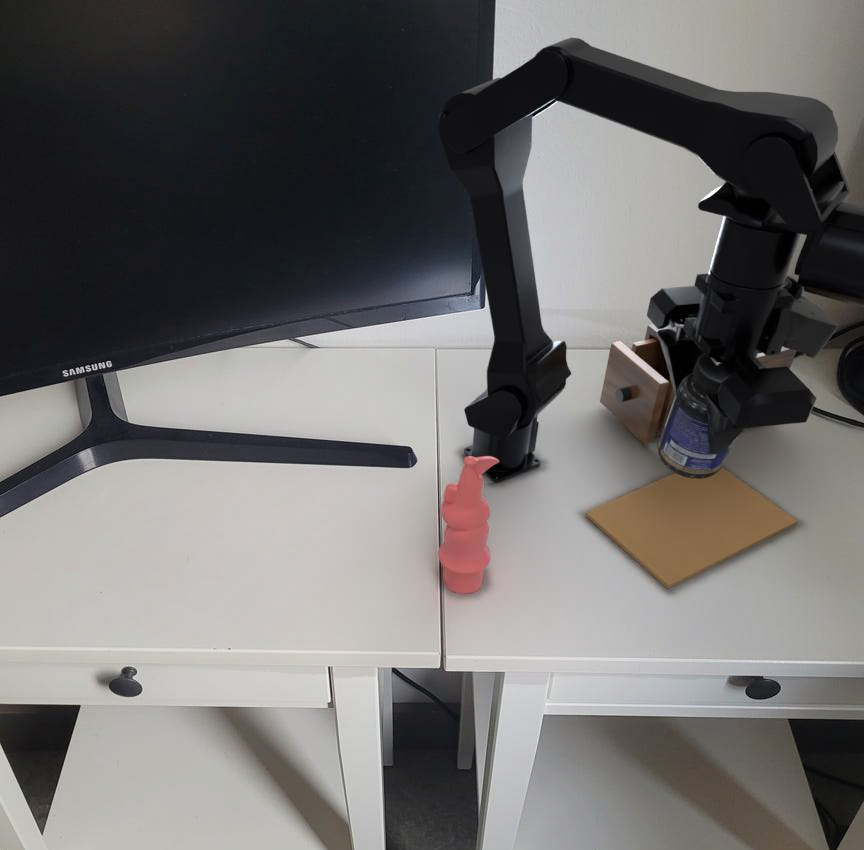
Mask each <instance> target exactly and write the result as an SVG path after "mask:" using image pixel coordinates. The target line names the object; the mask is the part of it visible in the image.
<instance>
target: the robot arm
mask: <svg viewBox="0 0 864 850" xmlns="http://www.w3.org/2000/svg"><path fill="white" fill-rule="evenodd" d="M558 102H559V103H562V104H565V105H567V106H570V107H573V108H576V109H578V110H581V111H583V112H586V113H589V114H592V115H593V116H597V117H598V118H599V117H600V118H602V119H603V120H607V121H610V122H613V123H616V124H618V125H621V126H623V127H626V128H629V129H631V130H635V131H636V132H640V133H642V134H645V135H648V136H650V137H653V138H655V139H658V140H661V141H663V142H666V143H668V144H671V145H674V146H677V147H679V148H682V149H683V150H686V151H688V152H689V153H691V154H693V155H694V156H696V157H697V158H698V159H699V160H700V161H701V162H702V163H703V164H704V165H705V166H706V167H707V168H708V170H709V171H711V173H713V174H714V175H715V176H716V177H718V178H720V179H721V180H723V181H724V183H723V184H722V185H721V186H719V187H716V188H714V189H713V190H712V191H711V192H709V193H708V194H707V195H705V197H703V198H702V199H701V200H700V201H699V202H698V203H697V208H698V210H699V211H702V212H705V213H709V214H713V215H719V216H722V221H721V225H720V229H719V233H718V236H717V240H716V243H715V248H714V251H713V255H712V258H711V262H710V266H709V270H708V273H707V272H706V273H696V277H695V281H694V285H688V286H687V285H685V286H674V287H673V286H672V287H662V288H660V289H659V290H658V291H656V293H654V294H653V295H652V296H650V299H649V303H648V308H647V312H646V313H647V314H646V317H647V318H648V319H649V320H650V322H651V324H654V325H655V327H656V328H657V329H660V330H658V331H657V337H658V338H659V340H660V343H661V346H662V350H663V353H664V357H665V360H666V363H667V367H668V371H669V374H670V378H671V382H672V386H673V390H674V394H675V395H676V392H677V390H678V386H679V384H680V383H681V381H682V380H683V379H684V378H685V377H686V376H688V375H690V374H692V373H693V369H694V367H695V364H696V362H697V359H698V358H699V356H701V355H702V354H705V355H706V356H707V357H708V358H710V359H711V360H712V361H713V363H714V364H715V365H717V366H724V367H725V368H726V369H727V370H728V371H729V372H730V374H731V375H729V376H728V377H727V378H726V379H724V380H723V381H722V382H721V384H720V388H719V391H718V393H712V394H707V395H706V400H707V419H708V439H709V448H710V452H711V453H712V454H718V453H723V452H724V451H725V450H726V449H727V448H728V447H729V445H730V444H731V443H732V442H733V443H734V442H735V440H736V439H737V438H738V437H739V436H740V435H741V434H742V432H743V431H744V430H745V429H753V428H762V427H763V428H764V427H773V426H774V427H775V426H782V425H793V424H800V423H801V424H803V423H807V422H808V420H809V418H810V416H811V414H812V411H813V409H814V406H815V404H816V401H817V399H818V398H817V397H816V396H815V394H814V393H813V392H812V391H811V390H810V388H809V387H808V386H807V385H806V384H805V383H804V382H803V381H802V380H801V379H800V378H799V377H798V376H797V375H796V374H795V373H794V372H793V371H792V370H791V368H790V369H789V368H788V367H787V366H785V367H774V368H765V367H764V366H763V365H762V364H761V363H760V362H759V361H758V360H757V359H756V358H755V357H757V354H758V353H764V354H765V355H766V356H770V355H780V352H781V349H782V347H785V348H788V349H792V350H795V351H796V352H799V353H802V354H805V355H806V357H808V358H812V359H814V358H817V356H818V355H819V354H820V352H822V350H823V349H824V347H825V346H826V344H827V343H828V342H829V340H831V338H832V337H833V335H834V334H835V332H836V331H837V330H838V328H839V327H840V324H839V323H838V322H837V321H836V320H834V318H832V317H831V316H830V315H829V314H827V312H826V311H824V310H823V309H822V308H821V307H820V306H819V305H817V304H815V303H814V302H812V301H810V300H809V299H808V298H807V297H805V295H802V294H803V292H805V293H809V294H812V295H816V296H820V297H823V298H827V299H831V300H834V301H838V302H842V303H846V304H850V305H854V306H857V307H862V308H864V206H863V205H858V204H853V203H849V202H845V201H846V200H847V199H848V197H849V196H850V195H851V190H850V187H849V184H848V182H847V179H846V177H845V174H844V172H843V168H842V166H841V163H840V161H839V158H838V155H837V152H836V147H837V144H838V141H839V126H838V124H837V121H836V118H835V116H834V111H833V110H832V109H831V108H830V107H829V105H827V104H826V103H824V102H822V101H821V100H819V99H817V98H813V97H809V96H802V95H795V94H787V93H785V94H784V93H781V92H780V93H779V92H771V91H733V90H732V91H731V90H727V89H725V90H724V89H719V88H715V87H713V86H710V85H707V84H704V83H701V82H698V81H695V80H692V79H689V78H687V77H683V76H680V75H677V74H675V73H671V72H668V71H665V70H663V69H660V68H657V67H654V66H652V65H648V64H645V63H643V62H639V61H636V60H633V59H631V58H627V57H625V56H622V55H619V54H616V53H612V52H609V51H606V50H605V49H601V48H598V47H595V46H592V45H590V44H589V43H588V42H587V41H585V40H583V39H581V38H578V37H569V38H566V39H563V40H560V41H557V42H555V43H553V44H549V45H548V46H545V47H543V48H541V49H540V50H539V51H538V52H536V53H535V55H534V56H533V57H532V58H530V59H529V60H527V61H526V62H525V63H523V64H522V65H520V66H518V67H517V68H515V69H514V70H511V72H509V73H508V74H506V75H504V76H502V77H496V78H493V79H491V80H489V81H486V82H483V83H481V84H478V85H476V86H474V87H472V88H469V89H467V90H465V91H462V92H460V93H457V94H455V95H453V96H451V98H450V99H448V101H446V103H445V105H444V106H443V109H442V111H441V112H440V113H439V115H438V120H437V125H438V126H437V128H438V135H439V139H440V142H441V145H442V148H443V152H444V154H445V158H446V161H447V163H448V166H449V169H450V171H451V173H452V174H453V176H454V177H455V178H456V180H457V181H458V182H459V184H460V185H461V186H462V187H463V189H464V190H465V191H466V193H467V194H468V197H469V199H470V203H471V209H472V214H473V215H472V216H473V221H474V227H475V232H476V233H475V234H476V238H477V244H478V250H479V256H480V262H481V269H482V274H483V280H484V285H485V290H486V297H487V303H488V308H489V315H490V321H491V326H492V332H493V344H492V348H491V352H490V356H489V360H488V362H487V363H488V364H487V368H486V389H485V390H484V391H483V392H482V393H481V394H480V395H479V396H477V397H476V398H475V399H474V400H473V401H471V402H470V403H469V404H467V406H466V407H465V408H464V410H463V411H464V415H465V418H466V423H467V425H468V427H470V428H473V434H472V435H473V437H472V445H469V446H466V447H464V449H463V454H464V455H465V457H467V456H473V457H475V458H477V457H482V456H491V457H494V458H496V459H498V460H499V463H497V464H495V465H493V466H492V467H490V468H489V469H488V470H486V471H485V472H484V473H483V474H485V475H486V477H487V478H489V479H490V480H491V481H492V482H493V483H500V482H503V481H505V480H507V479H509V478H513V477H515V476H518V475H520V474H522V473H525V472H527V471H530V470H533V469H535V468H539V467H540V466H541V463H542V460H541V459H540V458H539V457H538V456H537V455H536V454H535V453H534V452H535V450H536V445H537V440H538V439H537V437H538V433H539V425H540V423H539V421H538V416H539V415H540V414H541V413H542V412H543V411H544V410H545V409H546V408H547V407H548V406H549V405H550V404H551V403H552V402H553V401H554V400H555V399H556V398H557V397H558V396H559V395H560V394H562V392H563V390H564V389H565V388H566V385H567V379H569V378H570V376H571V375H572V372H571V370H570V367H569V364H568V361H567V348H568V346H567V343H566V341H565V340H555V341H554V340H553V339H552V338H551V337H550V335H549V334H548V333H547V332H546V330H545V329H544V327H543V323H542V322H543V321H542V316H541V308H540V300H539V293H538V286H537V279H536V272H535V265H534V258H533V257H534V256H533V251H532V243H531V237H530V230H529V221H528V215H527V207H526V199H525V192H524V178H525V175H526V172H527V167H528V163H529V158H530V155H531V152H532V151H531V150H532V146H533V145H532V144H533V118H535V117H536V116H538V115H540V114H541V113H543V112H544V111H546V110H547V109H549V108H551V107H552V106H553V105H556V103H558ZM801 235H804V236H805V239H804V242H803V244H802V247H801V250H800V252H799V254H798V256H797V259H796V262H795V263H796V264H795V267H794V275H795V276H798V278H797V279H796V278H794V276H790V275H789V270H790V268H791V265H792V263H793V262H792V261H793V259H794V256H795V254H796V253H795V252H796V250H797V247H798V244H799V241H800V238H801ZM665 327H666V329H664V328H665ZM733 443H732V444H733Z"/></svg>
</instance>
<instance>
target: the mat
mask: <svg viewBox="0 0 864 850" xmlns="http://www.w3.org/2000/svg"><path fill="white" fill-rule="evenodd" d="M584 516H585V517H586V518H587V519H589V520H590V522H591V523H592V524H594V525H595V526H596V527H597V528H599V529H600V530H601V531H602V532H603V533H604V534H605V535H606V536H608V538H610V540H612V541H613V542H614V543H616V544H617V545H618V546H619V547H620V548H621V549H622V550H623V551H624V552H626V553H627V554H628V555H629V556H630V557H631V558H632V559H634V561H636V563H638V564H639V565H640V566H641V567H642V568H643V569H644V570H646V571H647V572H648V573H649V574H650V575H651V576H652V577H654V579H656V580H657V581H658V582H659V583H660V584H662V586H664V587H665V588H666V589H668V590H669V589H671V588H673V587H675V586H677V585H679V584H681V583H683V582H685V581H687V580H689V579H691V578H693V577H695V576H697V575H699V574H701V573H702V572H704V571H706V570H708V569H710V568H713V567H714V566H717V565H718V564H720V563H723V562H724V561H726V560H729V559H730V558H733V557H734V556H737V555H738V554H740V553H742V552H744V551H747V550H748V549H751V548H753V547H754V546H756V545H758V544H760V543H762V542H764V541H766V540H768V539H770V538H772V537H774V536H775V535H778V534H780V533H782V532H784V531H785V530H788V529H789V528H792V527H793V526H795V525H797V523H798V520H797V518H794V517H793V516H792V515H791V514H789V513H787V512H786V511H785V510H783V509H782V508H781V507H779V506H777V505H776V504H775V503H774V502H772V501H770V500H769V499H767V498H766V497H765V496H763V495H762V494H761V493H759V492H757V491H756V490H755V489H753V488H752V487H751V486H750V485H748V484H746V483H745V482H744V481H743V480H740V479H739V477H737V476H735V475H733V474H732V473H731V472H730V471H729V470H727V469H726V468H724V467H722V468H721V469H720V470H719V471H718V472H717V473H716V474H715V475H713V476H710V477H707V478H702V479H696V478H688V477H684V476H681V475H678V474H677V473H675V472H673V473H672V474H670V475H668V476H665V477H662V478H661V479H658V480H656V481H653V482H651V483H649V484H647V485H644V486H642V487H640V488H637V489H635V490H633V491H631V492H628V493H626V494H624V495H622V496H621V495H620V496H619V497H616V498H614V499H612V500H610V501H607V502H605V503H603V504H601V505H599V506H596V507H594V508H592V509H589V510H587V511H585V513H584Z"/></svg>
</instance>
